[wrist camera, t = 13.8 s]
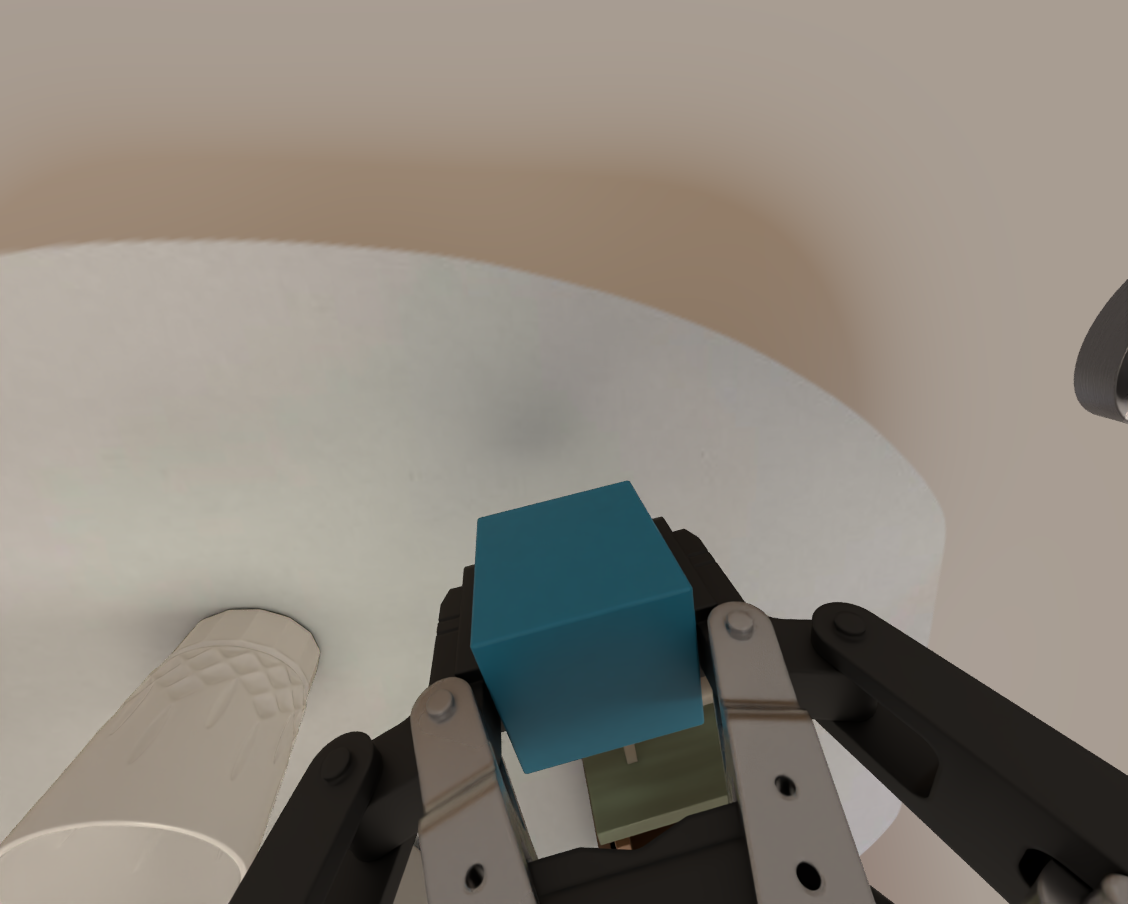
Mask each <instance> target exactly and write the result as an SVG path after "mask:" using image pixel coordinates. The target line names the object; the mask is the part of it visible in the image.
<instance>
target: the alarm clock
mask: <svg viewBox="0 0 1128 904" xmlns="http://www.w3.org/2000/svg"><path fill="white" fill-rule="evenodd" d="M393 904H428V902H427V894H426V887H425V880H424V873H423V865H422V858H421V852H420V850H419V849H418V848H417V847H415V846H414V845H413V847H412V850H411V853H410V856H409V859H408V862H407V865H406V868H405V871H404V873H403V876H402V879H401V882H400V885H399V888H398V891H397V894H396V897H395V899H394V902H393Z"/></svg>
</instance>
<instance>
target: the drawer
mask: <svg viewBox="0 0 1128 904" xmlns="http://www.w3.org/2000/svg"><path fill="white" fill-rule="evenodd" d="M701 689H702V701H703V712H704V723H703V724H702V725H699V726H695V727H692V728H688V729H685V730H681V731H677V732H674V733H670V734H667V735H663V736H660V737H656V738H653V739H649V740H646V741H642V742H639V743H635V744H631V745H628V746H624V747H621V748H617V749H614V750H610V751H607V752H603V753H600V754H596V755H592V756H589V757H585V758H583V763H584V768H585V773H586V779H587V784H588V789H589V795H590V800H591V805H592V811H593V816H594V821H595V827H596V832H597V836H598V839H599V842H600V845H604V844H607V843H611V842H614V841H615V846H616V849H626V850H635V849H639V848H641V847H643V846H644V845H646V844H647V843H649V842H650V841H652V840H653V839H654V838H656V837H657V836H659V835H660V834H662V833H663V832H664V831H666V830H667V829H669V828H670V827H672V826H673V825H674V824H676V823H677V822H679V821H680V820H682V819H683V818H684V817H686V816H688V815H692V814H695V813H698V812H702V811H705V810H709V809H712V808H716V807H719V806H722V805H726V804H728V798H727V789H726V782H725V775H724V768H723V762H722V756H721V749H720V743H719V736H718V730H717V723H716V717H715V710H714V704H713V694H712V688H711V686H710V684H709V682H708V680H707V678H706V676H705V677H701Z"/></svg>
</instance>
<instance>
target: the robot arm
mask: <svg viewBox="0 0 1128 904" xmlns="http://www.w3.org/2000/svg"><path fill="white" fill-rule="evenodd" d="M652 520H653V522H654V523H655V525H656V527H657V528H658V530H659V532H660V534H661V535H662V537H663V539H664V540H665V542H666V544H667V545H668V547H669V549H670V550H671V552H672V554H673V556H674V557H675V559H676V561H677V562H678V564H679V566H680V567H681V569H682V571H683V573H684V574H685V576H686V578H687V579H688V581H689V583H690V584H691V586H692V588H693V599H694V610H695V622H696V633H697V644H698V655H699V667H700V678H701V677H705V676H706V678H707V680H708V682H709V684H710V686H711V688H712V694H713V704H714V710H715V717H716V723H717V730H718V736H719V743H720V749H721V756H722V762H723V768H724V775H725V782H726V789H727V798H728V804H726V805H722V806H719V807H716V808H712V809H709V810H705V811H702V812H698V813H695V814H692V815H688V816H686V817H684V818H683V819H682V820H680V821H679V822H677V823H676V824H674V825H673V826H672V827H670V828H669V829H667V830H666V831H664V832H663V833H662V834H660V835H659V836H657V837H656V838H654V839H653V840H652V841H650V842H649V843H647V844H646V845H644V846H643V847H641V848H639V849H635V850H626V849H605V848H584V847H579V848H576V849H572V850H569V851H565V852H562V853H558V854H555V855H552V856H548V857H545V858H541V859H538V857H537V855H536V852H535V850H534V847H533V844H532V842H531V839H530V836H529V833H528V830H527V827H526V824H525V821H524V818H523V816H522V813H521V810H520V807H519V804H518V801H517V798H516V795H515V792H514V789H513V786H512V783H511V780H510V777H509V774H508V771H507V768H506V765H505V762H504V759H503V757H502V755H501V732H504V731H506V729H505V727H504V725H503V722H502V720H501V718H500V715H499V713H498V711H497V708H496V706H495V704H494V701H493V699H492V697H491V694H490V692H489V690H488V687H487V685H486V683H485V680H484V678H483V676H482V673H481V671H480V669H479V666H478V664H477V662H476V659H475V657H474V655H473V652H472V650H471V648H470V642H471V624H472V607H473V589H474V572H475V564H474V565H470V566H467V567H465V568H464V573H463V584H462V586H461V587H457V588H453V589H450V590H449V592H448V593H447V595H446V597H445V598H444V600H443V602H442V603H441V606H440V613H439V623H438V627H437V636H436V641H435V648H434V654H433V661H432V668H431V675H430V682H429V687H428V688H426V689H425V690H424V691H423V692H422V693H421V695H420V696H419V697H418V699H417V700H416V702H415V704H414V706H413V708H412V711H411V715H410V716H409V717H408V718H407V719H406V720H404V721H403V722H401V723H400V724H398V725H397V726H395V727H393V728H392V729H390V730H388V731H387V732H385V733H383V734H382V735H380V736H378V737H376V738H375V739H373V740H371V739H370V737H369V736H368V735H367V734H365V733H363V732H358V731H356V732H349V733H346V734H343V735H341V736H339V737H337V738H335V739H334V740H333V741H331V742H330V743H328V744H327V745H326V746H325V747H324V748H323V749H322V750H321V751H320V752H319V753H318V754H317V755H316V757H315V758H314V759H313V761H312V762H311V764H310V765H309V767H308V769H307V770H306V772H305V774H304V775H303V777H302V779H301V780H300V782H299V784H298V786H297V787H296V789H295V791H294V792H293V794H292V796H291V798H290V799H289V801H288V803H287V804H286V806H285V808H284V809H283V811H282V813H281V815H280V816H279V818H278V820H277V821H276V823H275V825H274V826H273V828H272V830H271V832H270V833H269V835H268V837H267V838H266V840H265V842H264V844H263V845H262V847H261V849H260V850H259V852H258V854H257V855H256V857H255V859H254V861H253V862H252V864H251V866H250V867H249V869H248V871H247V872H246V874H245V876H244V878H243V879H242V881H241V883H240V884H239V886H238V888H237V890H236V891H235V893H234V895H233V896H232V898H231V900H230V901H229V903H228V904H393V902H394V899H395V897H396V894H397V891H398V888H399V885H400V882H401V879H402V876H403V873H404V871H405V868H406V865H407V862H408V859H409V856H410V853H411V850H412V847H413V845H414V842H415V839H416V836H417V833H418V835H419V844H420V851H421V858H422V865H423V873H424V880H425V887H426V894H427V902H428V904H894V903H893V902H892V901H890V900H889V899H888V898H886V897H885V896H884V895H882V894H881V893H880V892H878V891H877V890H876V889H875V888H873V887H872V886H870V885H869V883H868V880H867V877H866V874H865V871H864V868H863V865H862V863H861V860H860V857H859V854H858V851H857V848H856V845H855V842H854V839H853V837H852V834H851V831H850V828H849V825H848V822H847V819H846V816H845V813H844V810H843V808H842V805H841V802H840V799H839V796H838V793H837V790H836V787H835V784H834V782H833V779H832V776H831V773H830V770H829V767H828V764H827V761H826V758H825V756H824V753H823V750H822V747H821V744H820V741H819V738H818V735H817V732H816V730H815V727H814V724H813V721H812V719H815V720H816V721H817V722H818V723H819V724H820V725H821V726H822V727H823V728H824V729H825V730H826V731H827V732H829V733H830V734H831V735H832V736H833V737H834V738H835V739H836V740H837V741H838V742H839V743H840V744H841V745H842V746H843V747H844V748H845V749H846V750H848V751H849V752H850V753H851V754H852V755H853V756H854V757H855V758H856V759H857V760H858V761H859V762H860V763H861V764H862V765H863V766H864V767H866V768H867V769H868V770H869V771H870V772H871V773H872V774H873V775H874V776H875V777H876V778H877V779H878V780H879V781H880V782H881V783H882V784H884V785H885V786H886V787H887V788H888V789H889V790H890V791H891V792H892V793H893V794H894V795H895V796H896V797H897V798H898V799H899V800H900V801H902V802H903V803H904V804H905V805H906V806H907V807H908V808H909V809H910V810H911V811H912V812H913V813H914V814H915V815H917V817H919V819H921V820H922V821H923V822H924V823H925V824H926V825H927V826H928V827H929V828H930V829H931V830H932V831H933V832H934V833H935V834H937V836H939V837H940V838H941V839H942V840H943V841H944V842H945V843H946V844H947V845H948V846H949V847H950V848H951V849H952V850H953V851H954V852H955V853H957V854H958V855H959V856H960V857H961V858H962V859H963V860H964V861H965V862H966V863H967V864H968V865H970V867H971V868H972V869H974V870H975V871H976V872H977V873H978V874H979V875H980V876H981V877H982V878H983V879H984V880H985V881H986V882H987V883H988V884H989V885H990V886H991V887H993V888H994V889H995V890H996V891H997V892H998V893H999V894H1000V895H1001V896H1002V897H1003V898H1004V899H1005V900H1006V901H1007V902H1008V903H1009V904H1128V775H1126V774H1124V773H1123V772H1121V771H1120V770H1118V769H1117V768H1115V767H1113V766H1112V765H1110V764H1109V763H1107V762H1106V761H1104V760H1102V759H1101V758H1099V757H1098V756H1096V755H1095V754H1093V753H1091V752H1090V751H1088V750H1087V749H1085V748H1083V747H1082V746H1080V745H1079V744H1077V743H1076V742H1074V741H1072V740H1071V739H1069V738H1068V737H1066V736H1065V735H1063V734H1062V733H1060V732H1058V731H1057V730H1055V729H1054V728H1052V727H1051V726H1049V725H1047V724H1046V723H1044V722H1042V721H1041V720H1039V719H1038V718H1036V717H1035V716H1033V715H1032V714H1030V713H1029V712H1027V711H1025V710H1024V709H1022V708H1021V707H1019V706H1018V705H1016V704H1014V703H1013V702H1011V701H1010V700H1008V699H1007V698H1005V697H1003V696H1002V695H1000V694H999V693H997V692H996V691H994V690H992V689H991V688H989V687H988V686H986V685H985V684H983V683H981V682H980V681H978V680H977V679H975V678H973V677H972V676H970V675H969V674H967V673H965V672H964V671H963V670H961V669H959V668H958V667H956V666H955V665H953V664H952V663H950V662H948V661H947V660H945V659H944V658H942V657H941V656H939V655H937V654H936V653H934V652H933V651H931V650H930V649H928V648H926V647H925V646H923V645H922V644H920V643H919V642H917V641H915V640H914V639H912V638H911V637H909V636H908V635H906V634H904V633H903V632H901V631H900V630H898V629H897V628H895V627H893V626H892V625H890V624H889V623H887V622H886V621H884V620H882V619H881V618H879V617H878V616H876V615H875V614H873V613H871V612H870V611H868V610H866V609H864V608H862V607H860V606H857V605H853V604H849V603H842V602H833V603H827V604H824V605H822V606H820V607H819V608H817V609H816V610H815V612H814V613H813V616H812V620H797V619H778V618H772V617H769V616H767V615H766V614H765V613H764V612H763V611H762V610H760V609H759V608H757V607H755V606H753V605H751V604H748V603H746V602H745V601H744V600H743V599H742V597H741V596H740V595H739V593H738V592H737V590H736V589H735V588H734V586H733V585H732V583H731V582H730V581H729V579H728V578H727V576H726V575H725V574H724V572H723V571H722V569H721V568H720V567H719V565H718V564H717V562H715V560H714V558H713V557H712V555H711V554H710V553H709V552H708V550H707V548H706V547H705V546H704V544H703V543H702V541H701V540H700V539H699V537H697V536H695V535H694V534H692V533H691V532H689V531H687V530H686V529H681V530H678V531H674V532H672V530H671V529H670V527H669V526H668V524H667V522H666V521H665V519H664V518H663V517H658V518H654V519H652Z"/></svg>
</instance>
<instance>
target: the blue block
mask: <svg viewBox="0 0 1128 904" xmlns="http://www.w3.org/2000/svg"><path fill="white" fill-rule="evenodd" d="M470 648H471V650H472V652H473V655H474V657H475V659H476V662H477V664H478V666H479V669H480V671H481V673H482V676H483V678H484V680H485V683H486V685H487V687H488V690H489V692H490V694H491V697H492V699H493V701H494V704H495V706H496V708H497V711H498V713H499V715H500V718H501V720H502V722H503V725H504V727H505V729H506V732H507V734H508V736H509V739H510V741H511V743H512V746H513V748H514V750H515V753H516V755H517V757H518V760H519V762H520V764H521V767H522V769H523V771H524V773H525V774H529V773H532V772H536V771H539V770H543V769H546V768H550V767H554V766H557V765H561V764H564V763H568V762H571V761H575V760H578V759H582V758H585V757H589V756H592V755H596V754H600V753H603V752H607V751H610V750H614V749H617V748H621V747H624V746H628V745H631V744H635V743H639V742H642V741H646V740H649V739H653V738H656V737H660V736H663V735H667V734H670V733H674V732H677V731H681V730H685V729H688V728H692V727H695V726H699V725H702V724H703V723H704V712H703V701H702V689H701V678H700V667H699V655H698V644H697V633H696V622H695V610H694V599H693V588H692V586H691V584H690V583H689V581H688V579H687V578H686V576H685V574H684V573H683V571H682V569H681V567H680V566H679V564H678V562H677V561H676V559H675V557H674V556H673V554H672V552H671V550H670V549H669V547H668V545H667V544H666V542H665V540H664V539H663V537H662V535H661V534H660V532H659V530H658V528H657V527H656V525H655V523H654V522H653V520H652V518H651V517H650V515H649V513H648V512H647V510H646V508H645V506H644V505H643V503H642V501H641V500H640V498H639V496H638V495H637V493H636V491H635V489H634V488H633V486H632V484H631V483H630V481H623V482H619V483H615V484H611V485H608V486H604V487H600V488H596V489H592V490H588V491H584V492H580V493H576V494H572V495H568V496H564V497H560V498H556V499H552V500H548V501H544V502H540V503H536V504H532V505H528V506H524V507H520V508H517V509H513V510H509V511H505V512H501V513H497V514H493V515H489V516H485V517H481V518H479V519H478V521H477V537H476V554H475V572H474V589H473V607H472V624H471V642H470Z"/></svg>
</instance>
